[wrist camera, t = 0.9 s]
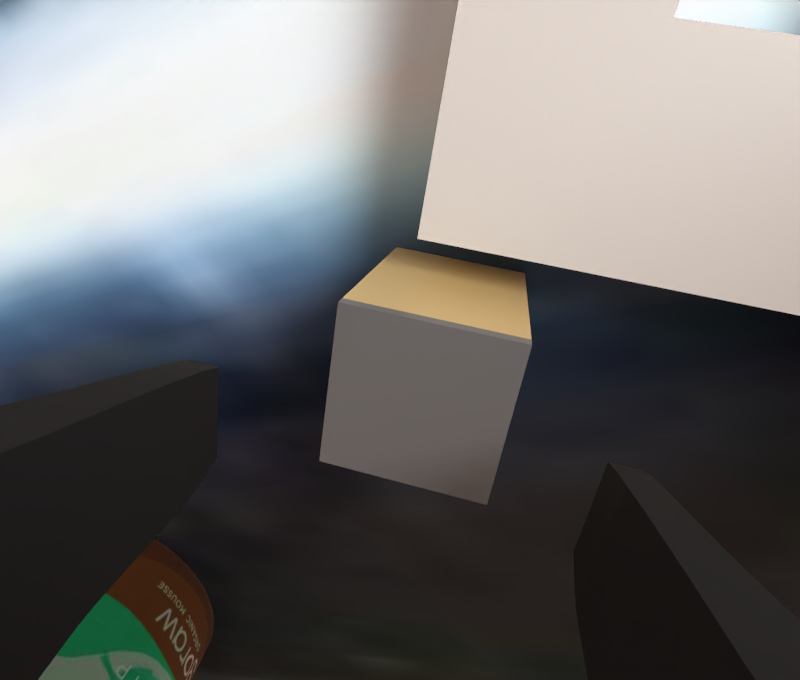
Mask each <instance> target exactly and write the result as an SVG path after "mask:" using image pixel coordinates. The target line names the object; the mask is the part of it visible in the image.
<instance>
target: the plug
mask: <svg viewBox="0 0 800 680" xmlns="http://www.w3.org/2000/svg"><path fill="white" fill-rule="evenodd" d="M531 347H532V339H531V329H530V319H529V309H528V300H527V290H526V280H525V273H522V272H517V271H512V270H507V269H503V268H498V267H493V266H488V265H483V264H478V263H473V262H468V261H463V260H458V259H454V258H449V257H444V256H439V255H434V254H429V253H424V252H419V251H414V250H409V249H405V248H400V247H396V248H395V249H394V250H393V251H392V252H391V253H390V254H389V255H388V256H387V257H386V258H385V259H383V260H382V261H381V262H380V263H379V264H378V265H377V266H376V267H375V268H374V269H373V270H372V271H371V272H370V273H369V274H367V275H366V276H365V277H364V278H363V279H362V280H361V281H360V282H359V283H358V284H357V285H356V286H355V287H354V288H353V289H351V290H350V291H349V292H348V293H347V294H346V295H345V296H344V297H343V298H342V299H341V300H340V301H339V302H338V306H337V315H336V323H335V332H334V340H333V349H332V357H331V366H330V374H329V383H328V391H327V400H326V408H325V417H324V425H323V433H322V442H321V450H320V459H319V461H321V462H325V463H329V464H332V465H336V466H340V467H344V468H348V469H352V470H355V471H359V472H363V473H367V474H371V475H374V476H378V477H382V478H386V479H390V480H394V481H397V482H401V483H405V484H409V485H413V486H416V487H420V488H424V489H428V490H432V491H435V492H439V493H443V494H447V495H451V496H455V497H458V498H462V499H466V500H470V501H474V502H477V503H481V504H485V505H487V503H488V499H489V496H490V492H491V489H492V485H493V481H494V478H495V474H496V471H497V467H498V464H499V460H500V457H501V453H502V450H503V446H504V443H505V439H506V436H507V432H508V428H509V425H510V421H511V418H512V414H513V411H514V407H515V404H516V400H517V397H518V393H519V390H520V386H521V383H522V379H523V375H524V372H525V368H526V365H527V361H528V358H529V354H530V351H531Z"/></svg>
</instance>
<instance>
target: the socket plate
mask: <svg viewBox="0 0 800 680" xmlns="http://www.w3.org/2000/svg"><path fill="white" fill-rule="evenodd" d="M678 3H679V0H458V6H457V12H456V18H455V23H454V29H453V35H452V41H451V47H450V52H449V58H448V64H447V70H446V76H445V81H444V87H443V93H442V99H441V104H440V110H439V116H438V122H437V128H436V133H435V139H434V145H433V151H432V156H431V162H430V168H429V174H428V180H427V185H426V191H425V197H424V203H423V209H422V214H421V220H420V226H419V232H418V237H417V239H421V240H426V241H431V242H436V243H441V244H446V245H451V246H456V247H461V248H466V249H471V250H476V251H481V252H486V253H491V254H496V255H501V256H506V257H511V258H516V259H521V260H526V261H531V262H536V263H540V264H545V265H550V266H555V267H560V268H565V269H570V270H575V271H580V272H585V273H590V274H595V275H600V276H605V277H610V278H615V279H620V280H625V281H630V282H635V283H640V284H645V285H650V286H655V287H660V288H665V289H670V290H675V291H680V292H685V293H690V294H695V295H700V296H705V297H710V298H714V299H719V300H724V301H729V302H734V303H739V304H744V305H749V306H754V307H759V308H764V309H769V310H774V311H779V312H784V313H789V314H794V315H799V316H800V35H795V34H787V33H780V32H773V31H766V30H758V29H751V28H744V27H737V26H730V25H722V24H715V23H708V22H701V21H693V20H686V19H679V18H674V15H675V12H676V9H677V6H678Z"/></svg>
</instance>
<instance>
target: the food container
mask: <svg viewBox="0 0 800 680" xmlns="http://www.w3.org/2000/svg"><path fill="white" fill-rule="evenodd" d="M213 624H214V615H213V611H212V607H211V603H210V599H209V597H208V595H207V593H206V591H205V589H204V587H203V585H202V584H201V582H200V581H199V579H198V578H197V576H196V575H195V574H194V573H193V571H192V570H191V569H190V568H189V567H188V566H187V565H186V563H185V562H184V561H182V560H181V559H180V558H179V557H178V556H177V555H176V554H175V553H174V552H173V551H171V550H170V549H168V548H167V547H166V546H164V545H163V544H162V543H160V542H159V541H157V540H155V539H154V540H153V541H152V542H151V543H150V544H149V545H148V546H147V547H146V549H145V550H144V551H143V552H142V553H141V554H140V555H139V556H138V557H137V559H136V560H135V561H134V562H133V563H132V564H131V565H130V566H129V568H128V569H127V570H126V571H125V572H124V573H123V574H122V575H121V577H120V578H119V579H118V580H117V581H116V582H115V583H114V584H113V585H112V587H111V588H110V589H109V590H108V591H107V592H106V593H105V594H104V596H103V597H102V598H101V599H100V600H99V601H98V602H97V604H96V605H95V606H94V607H93V608H92V610H91V611H90V612H89V613H88V614H87V616H86V617H85V618H84V619H83V621H82V622H81V623H80V624H79V625H78V627H77V628H76V629H75V631H74V632H73V633H72V635H71V636H70V637H69V639H68V640H67V641H66V643H65V644H64V645H63V647H62V648H61V649H60V651H59V652H58V653H57V655H56V656H55V658H54V659H53V660H52V662H51V663H50V664H49V666H48V667H47V668H46V670H45V671H44V672H43V674H42V675H41V676H40V678H39V679H38V680H192V678H193V676H194V674H195V672H196V670H197V668H198V666H199V664H200V662H201V660H202V658H203V656H204V654H205V652H206V650H207V648H208V646H209V644H210V642H211V640H212V633H213Z"/></svg>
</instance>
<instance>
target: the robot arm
mask: <svg viewBox="0 0 800 680" xmlns="http://www.w3.org/2000/svg"><path fill="white" fill-rule="evenodd" d="M218 384H219V367H216V366H212V365H208V364H204V363H200V362H196V361H192V360H186V361H179V362H174V363H169V364H164V365H160V366H156V367H152V368H148V369H144V370H140V371H137V372H133V373H129V374H125V375H122V376H118V377H114V378H110V379H107V380H103V381H99V382H95V383H92V384H88V385H84V386H81V387H77V388H73V389H69V390H65V391H61V392H57V393H52V394H48V395H44V396H40V397H36V398H32V399H27V400H23V401H19V402H15V403H11V404H6V405H2V406H0V680H38V679H39V678H40V676H41V675H42V674H43V672H44V671H45V670H46V668H47V667H48V666H49V664H50V663H51V662H52V660H53V659H54V658H55V656H56V655H57V653H58V652H59V651H60V649H61V648H62V647H63V645H64V644H65V643H66V641H67V640H68V639H69V637H70V636H71V635H72V633H73V632H74V631H75V629H76V628H77V627H78V625H79V624H80V623H81V622H82V621H83V619H84V618H85V617H86V616H87V614H88V613H89V612H90V611H91V610H92V608H93V607H94V606H95V605H96V604H97V602H98V601H99V600H100V599H101V598H102V597H103V596H104V594H105V593H106V592H107V591H108V590H109V589H110V588H111V587H112V585H113V584H114V583H115V582H116V581H117V580H118V579H119V578H120V577H121V575H122V574H123V573H124V572H125V571H126V570H127V569H128V568H129V566H130V565H131V564H132V563H133V562H134V561H135V560H136V559H137V557H138V556H139V555H140V554H141V553H142V552H143V551H144V550H145V549H146V547H147V546H148V545H149V544H150V543H151V542H152V541H153V540H154V538H155V537H156V536H157V535H158V534H159V533H160V532H161V531H162V529H163V528H164V527H165V526H166V525H167V524H168V523H169V521H170V520H171V519H172V518H173V517H174V516H175V515H176V513H177V512H178V511H179V510H180V509H181V508H182V506H183V505H184V504H185V503H186V502H187V501H188V499H189V498H190V496H191V495H192V493H193V492H194V491H195V489H196V488H197V486H198V485H199V483H200V482H201V481H202V479H203V477H204V476H205V474H206V473H207V471H208V470H209V468H210V467H211V465H212V464H213V462H214V460H215V459H216V457H217V423H218ZM574 574H575V596H576V611H577V617H578V624H579V630H580V636H581V642H582V648H583V654H584V659H585V665H586V671H587V677H588V680H800V620H799V619H798V618H797V617H796V616H795V615H793V614H792V613H791V612H790V611H789V610H788V609H787V608H786V607H785V606H784V605H783V604H781V603H780V602H779V601H778V600H777V599H776V598H775V597H774V596H773V595H772V594H771V593H769V592H768V591H767V590H766V589H765V588H764V587H763V586H762V585H761V584H760V583H759V582H758V581H757V580H756V579H755V578H754V577H753V576H752V575H751V574H750V573H748V572H747V571H746V570H745V569H744V568H743V567H742V566H741V565H740V564H739V563H738V562H737V561H736V560H735V559H734V558H733V557H732V556H731V555H730V554H729V553H728V552H727V551H726V550H725V549H724V548H723V547H722V546H721V545H720V544H719V543H718V542H717V541H716V540H715V539H714V538H713V537H712V536H711V535H710V534H709V533H708V532H707V531H706V530H705V529H704V528H703V527H702V526H701V525H700V524H699V523H698V522H697V521H696V520H695V519H694V518H693V517H692V516H691V515H690V514H689V512H688V511H687V510H686V509H685V508H684V507H683V506H682V505H681V504H680V503H679V502H678V501H677V500H676V499H675V498H674V497H673V496H672V495H671V494H670V493H669V492H668V491H667V490H666V489H665V488H664V487H663V486H662V485H661V484H660V483H659V482H657V481H656V480H655V479H654V478H653V477H652V476H651V475H650V474H648V473H647V472H646V471H645V470H641V469H636V468H632V467H628V466H624V465H620V464H616V463H612V462H608V464H607V467H606V469H605V472H604V474H603V477H602V480H601V482H600V485H599V488H598V490H597V493H596V495H595V498H594V501H593V503H592V506H591V508H590V511H589V514H588V516H587V519H586V522H585V524H584V527H583V529H582V532H581V535H580V537H579V540H578V543H577V545H576V548H575V550H574Z"/></svg>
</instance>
